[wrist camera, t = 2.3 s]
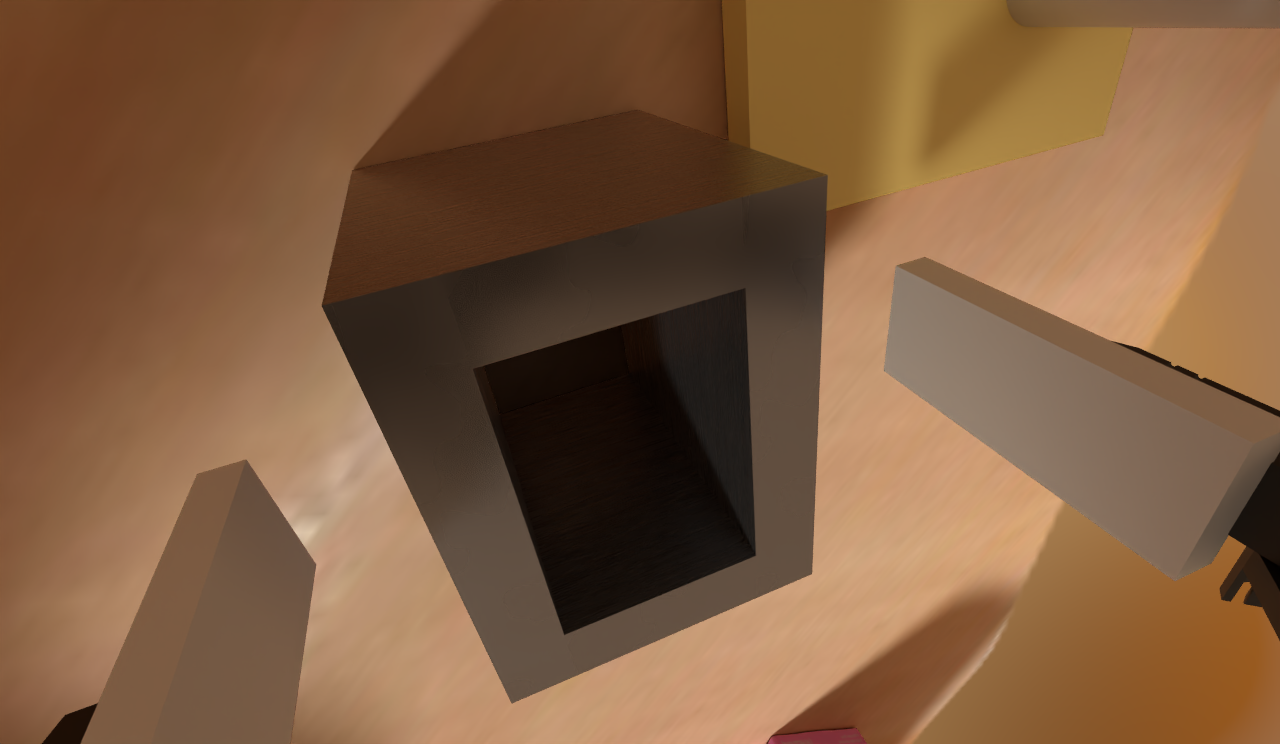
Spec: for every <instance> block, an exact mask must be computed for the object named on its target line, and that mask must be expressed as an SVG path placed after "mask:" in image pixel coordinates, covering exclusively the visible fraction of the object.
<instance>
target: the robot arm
mask: <svg viewBox="0 0 1280 744" xmlns="http://www.w3.org/2000/svg"><path fill="white" fill-rule="evenodd" d="M884 371H885V372H886V373H888V374H889V375H890V376H892V377H893V378H895V379H896V380H897V381H899V382H900V383H901V384H903V385H904V386H906V387H907V388H908V389H910V390H911V391H913V392H914V393H915V394H917V395H918V396H919V397H921V398H922V399H924V400H925V401H926V402H928V403H929V404H930V405H932V406H933V407H935V408H936V409H937V410H939V411H940V412H942V413H943V414H944V415H946V416H947V417H948V418H950V419H951V420H953V421H954V422H955V423H957V424H958V425H960V426H961V427H962V428H964V429H965V430H966V431H968V432H969V433H971V434H972V435H973V436H975V437H976V438H977V439H979V440H980V441H982V442H983V443H984V444H986V445H987V446H989V447H990V448H991V449H993V450H994V451H995V452H997V453H998V454H1000V455H1001V456H1002V457H1004V458H1005V459H1007V460H1008V461H1009V462H1011V463H1012V464H1013V465H1015V466H1016V467H1018V468H1019V469H1020V470H1022V471H1023V472H1025V473H1026V474H1027V475H1029V476H1030V477H1031V478H1033V479H1034V480H1036V481H1037V482H1038V483H1040V484H1041V485H1042V486H1044V487H1045V488H1047V489H1048V490H1049V491H1051V492H1052V493H1054V494H1055V495H1056V496H1058V497H1059V498H1060V499H1062V500H1063V501H1065V502H1066V503H1067V504H1069V505H1070V506H1072V507H1073V508H1074V509H1076V510H1077V511H1079V512H1080V513H1081V514H1083V515H1084V516H1085V517H1087V518H1088V519H1089V520H1091V521H1092V522H1094V523H1095V524H1097V525H1098V526H1099V527H1101V528H1102V529H1104V530H1105V531H1106V532H1107V533H1109V534H1110V535H1112V536H1113V537H1114V538H1116V539H1117V540H1119V541H1120V542H1121V543H1123V544H1124V545H1126V546H1127V547H1128V548H1130V549H1131V550H1132V551H1134V552H1135V553H1137V554H1138V555H1140V556H1141V557H1142V558H1144V559H1145V560H1146V561H1148V562H1149V563H1150V564H1152V565H1153V566H1155V567H1156V568H1157V569H1159V570H1160V571H1161V572H1163V573H1164V574H1166V575H1167V576H1168V577H1170V578H1171V579H1173V580H1174V581H1176V580H1178V579H1180V578H1182V577H1184V576H1186V575H1188V574H1191V573H1193V572H1195V571H1197V570H1199V569H1200V568H1203V567H1205V566H1207V565H1209V564H1211V563H1212V561H1213V560H1214V558H1215V557H1216V555H1217V553H1218V552H1219V550H1220V548H1221V547H1222V545H1223V543H1224V542H1225V540H1226V539H1227V537H1228V535H1230V536H1231V537H1233V538H1235V539H1236V540H1238V541H1239V542H1241V543H1242V544H1244V545H1246V548H1245V550H1244V551H1243V553H1242V554H1241V556H1240V557H1239V559H1238V560H1237V562H1236V563H1235V565H1234V567H1233V568H1232V570H1231V571H1230V573H1229V574H1228V576H1227V578H1226V579H1225V580H1224V582H1223V584H1222V585H1221V587H1220V594H1221V599H1222V600H1225V601H1231V600H1232V599H1233V597H1234V596H1235V595H1236V593H1237V591H1238V590H1239V589H1240V587H1241V586H1242V584H1243V583H1244V582H1250V584H1251V586H1252V587H1251V588H1250V590H1249V591H1248V593H1247V594H1246V596H1245V599H1244V604H1247V605H1253V606H1258V607H1263V609H1264V611H1265V613H1266V615H1267V617H1268V618H1269V621H1270V623H1271V625H1272V626H1273V628H1274V630H1275V632H1276V634H1277V636H1278V638H1279V640H1280V411H1279V410H1277V409H1275V408H1272V407H1270V406H1268V405H1266V404H1263V403H1261V402H1259V401H1256V400H1254V399H1252V398H1250V397H1248V396H1245V395H1243V394H1241V393H1239V392H1236V391H1234V390H1231V389H1230V388H1227V387H1225V386H1223V385H1221V384H1218V383H1216V382H1214V381H1212V380H1209V379H1207V378H1203V379H1200V378H1199V377H1198V374H1196V373H1194V372H1191V371H1189V370H1187V369H1184V368H1182V367H1180V366H1175V367H1174V366H1172V365H1171V362H1169V361H1167V360H1164V359H1162V358H1160V357H1158V356H1155V355H1153V354H1151V353H1149V352H1146V351H1144V350H1142V349H1140V348H1137V347H1133V346H1129V345H1125V344H1121V343H1117V342H1113V341H1110V340H1107V339H1105V338H1103V337H1101V336H1099V335H1096V334H1094V333H1092V332H1090V331H1088V330H1085V329H1083V328H1081V327H1079V326H1077V325H1074V324H1072V323H1070V322H1068V321H1066V320H1063V319H1061V318H1059V317H1057V316H1054V315H1052V314H1050V313H1048V312H1046V311H1043V310H1041V309H1039V308H1037V307H1035V306H1032V305H1030V304H1028V303H1026V302H1024V301H1021V300H1019V299H1017V298H1015V297H1012V296H1010V295H1008V294H1006V293H1004V292H1001V291H999V290H997V289H995V288H993V287H990V286H988V285H986V284H984V283H982V282H979V281H977V280H975V279H973V278H970V277H968V276H966V275H964V274H962V273H959V272H957V271H955V270H953V269H951V268H948V267H946V266H944V265H942V264H940V263H937V262H935V261H933V260H931V259H928V258H926V257H924V258H920V259H917V260H914V261H910V262H907V263H903V264H900V265H897V266H896V269H895V278H894V287H893V295H892V304H891V313H890V321H889V330H888V339H887V347H886V356H885V365H884ZM315 569H316V564H315V562H314V561H313V559H312V558H311V556H310V555H309V553H308V551H307V550H306V548H305V547H304V545H303V544H302V542H301V541H300V539H299V538H298V536H297V535H296V533H295V532H294V530H293V529H292V527H291V526H290V524H289V523H288V521H287V520H286V518H285V517H284V515H283V514H282V512H281V511H280V509H279V508H278V506H277V505H276V503H275V502H274V500H273V499H272V497H271V496H270V494H269V493H268V491H267V490H266V488H265V487H264V485H263V484H262V482H261V481H260V479H259V478H258V476H257V475H256V473H255V472H254V470H253V469H252V467H251V466H250V464H249V463H248V461H247V460H243V461H240V462H236V463H233V464H229V465H226V466H223V467H219V468H216V469H213V470H209V471H206V472H203V473H199V474H197V476H196V478H195V480H194V483H193V485H192V487H191V490H190V492H189V494H188V496H187V499H186V501H185V503H184V506H183V508H182V510H181V513H180V515H179V517H178V520H177V522H176V524H175V527H174V529H173V531H172V533H171V536H170V538H169V540H168V543H167V545H166V547H165V550H164V552H163V554H162V557H161V559H160V561H159V563H158V566H157V568H156V570H155V573H154V575H153V577H152V580H151V582H150V584H149V587H148V589H147V591H146V594H145V596H144V598H143V600H142V603H141V605H140V607H139V610H138V612H137V614H136V617H135V619H134V621H133V624H132V626H131V628H130V631H129V633H128V635H127V637H126V640H125V642H124V644H123V647H122V649H121V651H120V654H119V656H118V658H117V661H116V663H115V665H114V668H113V670H112V672H111V674H110V677H109V679H108V681H107V684H106V686H105V688H104V691H103V693H102V695H101V698H100V700H99V702H98V703H97V704H94V705H92V706H89V707H86V708H83V709H81V710H78V711H75V712H72V713H70V714H67V715H65V716H64V717H63V718H62V719H61V721H60V722H59V723H58V724H57V726H56V727H55V728H54V729H53V731H52V732H51V733H50V734H49V736H48V737H47V738H46V739H45V740H44V742H43V743H42V744H290V743H291V736H292V729H293V722H294V715H295V708H296V701H297V694H298V687H299V680H300V673H301V666H302V659H303V652H304V646H305V639H306V632H307V625H308V618H309V611H310V604H311V597H312V590H313V583H314V576H315Z"/></svg>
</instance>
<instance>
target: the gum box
mask: <svg viewBox="0 0 1280 744" xmlns="http://www.w3.org/2000/svg"><path fill="white" fill-rule="evenodd" d="M768 744H867V743H866V742H865V740H864V738H863V737H862V736H861V734H860V733H859V731H858V730H857V728H853V729H841V730H824V731H814V732H804V733H799V734H788V735H776V736H772V737H771V739H770V740H769V742H768Z"/></svg>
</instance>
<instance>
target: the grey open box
mask: <svg viewBox="0 0 1280 744" xmlns="http://www.w3.org/2000/svg"><path fill="white" fill-rule="evenodd" d="M827 184H828V175H826V174H824V173H821V172H818V171H815V170H812V169H809V168H806V167H803V166H800V165H797V164H794V163H791V162H789V161H786V160H783V159H780V158H777V157H774V156H771V155H768V154H765V153H762V152H759V151H756V150H754V149H751V148H748V147H745V146H742V145H739V144H736V143H733V142H730V141H727V140H724V139H721V138H719V137H716V136H713V135H710V134H707V133H704V132H701V131H698V130H695V129H692V128H689V127H687V126H684V125H681V124H678V123H675V122H672V121H669V120H666V119H663V118H660V117H657V116H654V115H652V114H649V113H646V112H643V111H640V110H635V111H630V112H625V113H621V114H616V115H611V116H606V117H602V118H597V119H592V120H588V121H583V122H578V123H573V124H569V125H564V126H559V127H554V128H550V129H545V130H540V131H536V132H531V133H526V134H521V135H517V136H512V137H507V138H503V139H498V140H493V141H488V142H484V143H479V144H474V145H469V146H465V147H460V148H455V149H451V150H446V151H441V152H436V153H432V154H427V155H422V156H418V157H413V158H408V159H403V160H399V161H394V162H389V163H384V164H380V165H375V166H370V167H366V168H361V169H356V170H352V173H351V178H350V182H349V187H348V191H347V196H346V200H345V204H344V209H343V213H342V218H341V222H340V227H339V231H338V236H337V240H336V244H335V249H334V253H333V258H332V262H331V267H330V271H329V275H328V280H327V284H326V289H325V293H324V298H323V302H322V307H323V310H324V312H325V314H326V316H327V318H328V320H329V322H330V324H331V326H332V328H333V330H334V333H335V335H336V337H337V339H338V341H339V343H340V345H341V347H342V349H343V351H344V354H345V356H346V358H347V360H348V362H349V364H350V366H351V368H352V370H353V372H354V374H355V377H356V379H357V381H358V383H359V385H360V387H361V389H362V391H363V393H364V395H365V397H366V400H367V402H368V404H369V406H370V408H371V410H372V412H373V414H374V416H375V418H376V420H377V423H378V425H379V427H380V429H381V431H382V433H383V435H384V437H385V439H386V441H387V444H388V446H389V448H390V450H391V452H392V454H393V456H394V458H395V460H396V462H397V464H398V467H399V469H400V471H401V473H402V475H403V477H404V479H405V481H406V483H407V485H408V487H409V490H410V492H411V494H412V496H413V498H414V500H415V502H416V504H417V506H418V508H419V511H420V513H421V515H422V517H423V519H424V521H425V523H426V525H427V527H428V529H429V531H430V534H431V536H432V538H433V540H434V542H435V544H436V546H437V548H438V550H439V552H440V554H441V557H442V559H443V561H444V563H445V565H446V567H447V569H448V571H449V573H450V575H451V578H452V580H453V582H454V584H455V586H456V588H457V590H458V592H459V594H460V596H461V598H462V601H463V603H464V605H465V607H466V609H467V611H468V613H469V615H470V617H471V619H472V621H473V624H474V626H475V628H476V630H477V632H478V634H479V636H480V638H481V640H482V642H483V644H484V647H485V649H486V651H487V653H488V655H489V657H490V659H491V661H492V663H493V665H494V668H495V670H496V672H497V674H498V676H499V678H500V680H501V682H502V684H503V686H504V688H505V691H506V693H507V695H508V697H509V699H510V701H511V703H514V702H516V701H519V700H521V699H523V698H526V697H528V696H530V695H533V694H535V693H537V692H539V691H542V690H544V689H546V688H549V687H551V686H553V685H556V684H558V683H560V682H563V681H565V680H567V679H570V678H572V677H574V676H577V675H579V674H581V673H583V672H586V671H588V670H590V669H593V668H595V667H597V666H600V665H602V664H604V663H607V662H609V661H611V660H614V659H616V658H618V657H621V656H623V655H625V654H628V653H630V652H632V651H634V650H637V649H639V648H641V647H644V646H646V645H648V644H651V643H653V642H655V641H658V640H660V639H662V638H665V637H667V636H669V635H672V634H674V633H676V632H678V631H681V630H683V629H685V628H688V627H690V626H692V625H695V624H697V623H699V622H702V621H704V620H706V619H709V618H711V617H713V616H716V615H718V614H720V613H723V612H725V611H727V610H729V609H732V608H734V607H736V606H739V605H741V604H743V603H746V602H748V601H750V600H753V599H755V598H757V597H760V596H762V595H764V594H767V593H769V592H771V591H773V590H776V589H778V588H780V587H783V586H785V585H787V584H790V583H792V582H794V581H797V580H799V579H801V578H804V577H806V576H808V575H811V574H812V562H813V536H814V511H815V486H816V461H817V436H818V411H819V385H820V360H821V335H822V310H823V285H824V260H825V234H826V209H827ZM619 325H621V329H622V335H623V341H624V346H625V352H626V358H627V364H628V370H629V374H626V375H623V376H620V377H616V378H613V379H610V380H607V381H604V382H601V383H598V384H594V385H591V386H588V387H585V388H582V389H579V390H576V391H572V392H569V393H566V394H563V395H560V396H557V397H554V398H550V399H547V400H544V401H541V402H538V403H535V404H532V405H528V406H525V407H522V408H519V409H516V410H513V411H510V412H506V413H503V414H499V411H498V408H497V405H496V402H495V399H494V396H493V393H492V390H491V387H490V384H489V381H488V378H487V375H486V372H485V368H484V366H485V365H488V364H491V363H495V362H498V361H501V360H505V359H508V358H511V357H515V356H518V355H522V354H525V353H528V352H532V351H535V350H538V349H542V348H545V347H548V346H552V345H555V344H558V343H562V342H565V341H569V340H572V339H575V338H579V337H582V336H585V335H589V334H592V333H595V332H599V331H602V330H606V329H609V328H612V327H616V326H619Z"/></svg>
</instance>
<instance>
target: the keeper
mask: <svg viewBox="0 0 1280 744" xmlns="http://www.w3.org/2000/svg"><path fill="white" fill-rule="evenodd" d="M722 17H723V37H724V58H725V78H726V98H727V119H728V139H729V141H730V142H733V143H736V144H739V145H742V146H745V147H748V148H751V149H754V150H756V151H759V152H762V153H765V154H768V155H771V156H774V157H777V158H780V159H783V160H786V161H789V162H791V163H794V164H797V165H800V166H803V167H806V168H809V169H812V170H815V171H818V172H821V173H824V174H826V175H828V184H827V209H826V211H829V210H832V209H836V208H840V207H843V206H847V205H851V204H854V203H858V202H861V201H865V200H869V199H872V198H876V197H880V196H883V195H887V194H891V193H894V192H898V191H902V190H905V189H909V188H913V187H916V186H920V185H924V184H927V183H931V182H934V181H938V180H942V179H945V178H949V177H953V176H956V175H960V174H964V173H967V172H971V171H975V170H978V169H982V168H986V167H989V166H993V165H997V164H1000V163H1004V162H1007V161H1011V160H1015V159H1018V158H1022V157H1026V156H1029V155H1033V154H1037V153H1040V152H1044V151H1048V150H1051V149H1055V148H1059V147H1062V146H1066V145H1069V144H1073V143H1077V142H1080V141H1084V140H1088V139H1091V138H1095V137H1099V136H1102V135H1103V134H1104V131H1105V127H1106V123H1107V120H1108V116H1109V113H1110V109H1111V106H1112V102H1113V98H1114V95H1115V91H1116V88H1117V84H1118V81H1119V77H1120V73H1121V70H1122V66H1123V63H1124V59H1125V56H1126V52H1127V48H1128V45H1129V41H1130V38H1131V34H1132V31H1133V27H1135V28H1280V0H722Z"/></svg>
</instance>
